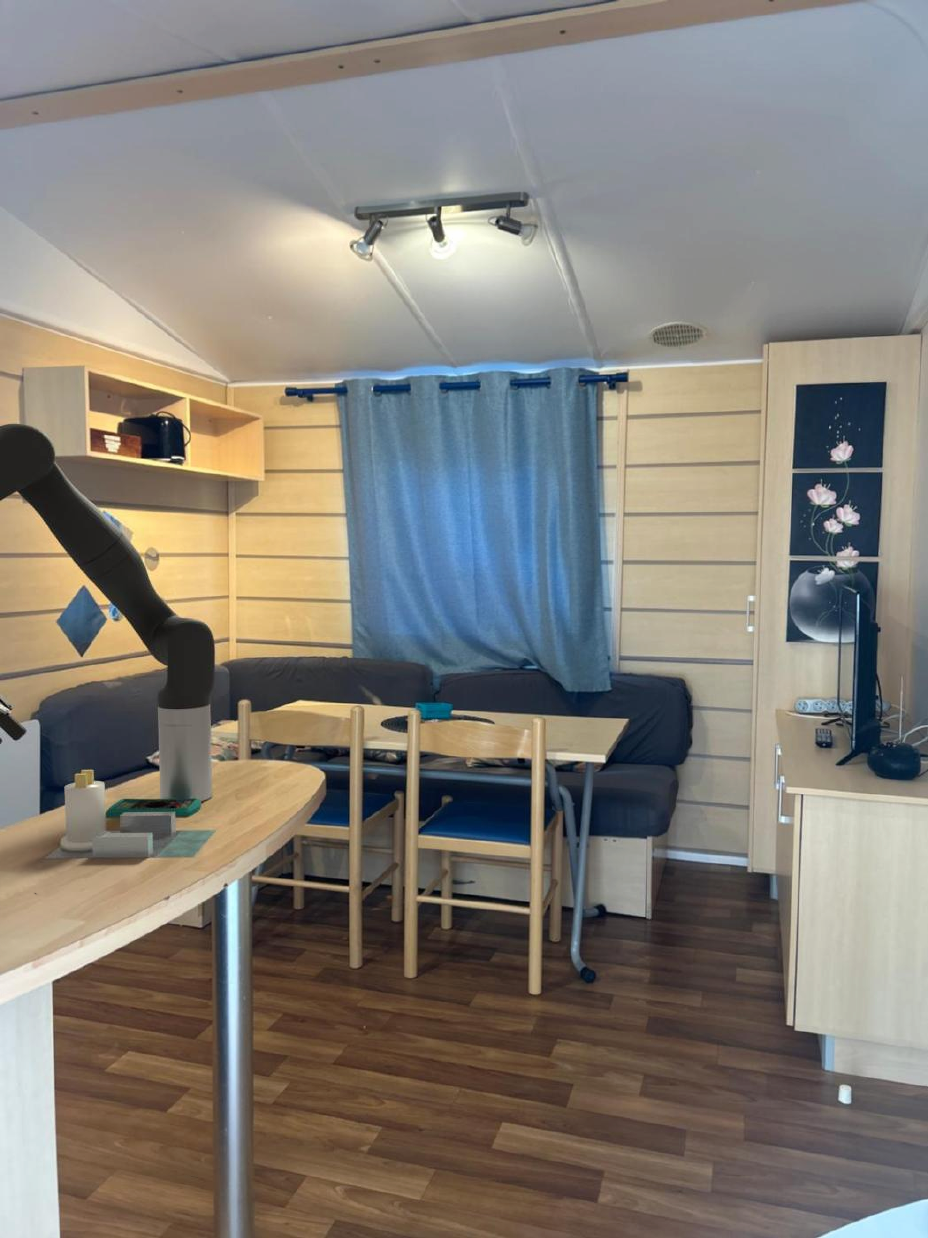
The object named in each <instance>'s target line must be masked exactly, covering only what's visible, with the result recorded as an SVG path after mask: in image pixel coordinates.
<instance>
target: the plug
mask: <svg viewBox="0 0 928 1238" xmlns="http://www.w3.org/2000/svg"><path fill="white" fill-rule="evenodd" d="M94 773H95V772H94V769H81V772H80V773H75V774H74V782H72V783H68V784H66V785H65V786H64V808H65V809H64V812H65V816H64V817H65V836H62V838H60V846H61V848H62V849H63V850H67V851H88V850H93V841H92V837H93V836H95V835H96V834H97V833H110V832H108V831H109V830H107V817H106V788H105V786H106V785H105V782H104V781H100V780H95V774H94Z"/></svg>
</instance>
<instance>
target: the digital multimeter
mask: <svg viewBox="0 0 928 1238" xmlns="http://www.w3.org/2000/svg"><path fill="white" fill-rule="evenodd" d="M201 808H202V801H201V800H199V799H197V798H192V799H160V798H121V799H119V800H118V801H116V802H115V803H114V804H112V805H111V806H110V807H108V809H107V810H105V813H106V818H120V815H122V814H123V813H124V812H175V817H182V818H183V817H191V816H193V815H195V814H196V813H198V812H199V811H200V810H201Z"/></svg>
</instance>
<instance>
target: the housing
mask: <svg viewBox="0 0 928 1238" xmlns="http://www.w3.org/2000/svg"><path fill="white" fill-rule="evenodd" d="M107 831H108V832H110V833H97V834H96V835H95V836H93V837H92V841H93V850H88V851H67V850H63V849H62V848H61V845H60V846H59V847H57V848H56V849H55V850H53V851H52V852H51V853H50V854H48V855H47V856H45V857H44V859H122V858H123V859H128V858H129V859H130V858H131V859H132V858H133V859H135V858H137V859H138V858H139V859H140V858H142V859H144V858H145V859H146V858H147V859H149V858H194V857H195V856H196V855H198V853H199V852H200V850H201V849H202V848H203V847H204V845H206V843H207V842H208V841H209V840H210V839H211V838H212V836H214V834H215V833H216V832H217V830H216V829H202V830H201V829H198V830H197V829H195V830H194V829H191V830H190V829H187V830H182V829H181V830H179V829H178V830H177V829H176V816H175V812H124V813H123V814H122V815H120V817H119V830H107Z"/></svg>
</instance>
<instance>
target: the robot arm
mask: <svg viewBox="0 0 928 1238" xmlns="http://www.w3.org/2000/svg"><path fill="white" fill-rule="evenodd" d="M15 493H18V494H19V495H20V496H21V497H22V498H23V499H24V500H25V501H26V502H27V503H28V504H29V506H31V508H33V509H34V511H35V512H36V513H37V514H38V515H39V516H40V518H41V519H42V521H43V522H44V523H45V525H46V526H47V528H48V529H49V531H50V533H52V535H53V536H54V537H55V539H56V541H57V542H58V543H59V544H60V546H61V547H62V548H63V549H64V551H65V552H66V553H67V554H68V556H69V557H70V558H71V559H72V561H73V562H74V564H76V566H77V567H78V568H79V570H81V572H82V573H84V575H85V576H86V577H87V578H88V579H89V581H91V582H92V583H93V585H95V587H96V588H97V589H99V591H100V592H101V593H102V595H104V597H105V598H106V599H107V600H108V601H109V602H110V603H111V605H113V606H114V608H116V610H117V611H119V612H120V614H121V615H122V616H123V617H124V618H125V619H126V621H127V622H128V623H129V624H130V625H131V627H132V628H133V630H134V631H135V633H136V634H137V636H138V638H139V639H140V640H141V641H142V643H143V644H144V646H145V648H146V649H147V650H148V652H149V654H150V655H151V656H152V658H154V659H155V660H156V661H157V662H158V663H160V664H161V665H164V666H167V667H166V668H167V670H166V671H167V672H166V673H167V674H166V683H165V685H164V687H163V688H161V689H160V690H159V691H158V692H157V718H158V719H157V721H158V752H159V753H158V757H159V758H158V759H159V794H160V795H159V796H160V798H159V799H192V798H197V799H199V800H201V802H203V801H206V800H209V799H210V798H212V797H213V762H212V761H213V760H212V754H213V753H212V723H211V722H212V721H211V719H212V718H211V695H212V693H213V689H214V685H215V674H216V673H215V671H216V665H215V664H216V663H215V662H216V646H215V638H214V634H213V632H212V630H211V628H210V627H209V626H208V624H206V623H205V622H204V621H202V620H199V619H195V618H191V617H190V618H189V617H182V616H179V615H178V614H177V613H176V612H175V611H173V610H172V608H170V606H169V605H168V604H167V603H166V602H165V601H164V600H163V599H162V598H161V596H160V595H159V594H158V593H157V591H156V590H155V588H154V586H153V584H152V582H151V580H150V577H149V573H148V571H147V568H146V565H145V563H144V561H143V558H142V557H141V555H140V553H139V552H138V550H137V548H136V547H135V546H134V545H133V544H132V543H131V541H130V540H129V539H128V538H127V536H126V535H125V534H124V533H123V532H122V530H121V529H120V528H119V527H118V526H117V525H116V524H115V523H114V522H113V521H112V520H111V519H110V517H109V516H107V515H106V514H105V513H104V511H102V510H101V509H100V508H99V507H98V506H96V504H94V503H93V502H92V501H91V500H89V499H88V498H87V497H86V496H85V495H84V494H83V493H82V492H80V491H79V489H78V488H77V487H76V486H74V485H73V483H72V482H71V481H70V480H69V479H68V477H67V475H66V474H65V473H64V472H63V471H62V469H61V468H60V466H59V465H58V464H57V462H56V450H55V446H54V444H53V442H52V440H51V439H50V437H49V436H48V435H47V434H46V433H45V432H43V431H42V430H40V429H38V428H36V427H34V426H31V425H29V424H27V425H26V424H21V423H6V424H2V425H0V502H1V501H3V500H5V499H6V498H8V497H9V496H11V495H13V494H15ZM14 708H15V707H14V706H13V705H12V704H11V703H10V702H9V700H8V699H6V698H5V696H3V695H2V694H1V693H0V728H1V730H3V731H4V732H5V733H6V734H7V735H8V736H9V737H10V738H11V739H12V740H13V741H16V742H17V741H20V740H21V738H22V737H23V736H25V735H26V733H27V729H26V728H25V727H24V726H23V725H22V724H21V723H20V722H19V721H18V720H17V719H15V717H13V715H11V713H12V710H13V709H14ZM2 743H3V739H2V738H1V737H0V745H1V744H2Z"/></svg>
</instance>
